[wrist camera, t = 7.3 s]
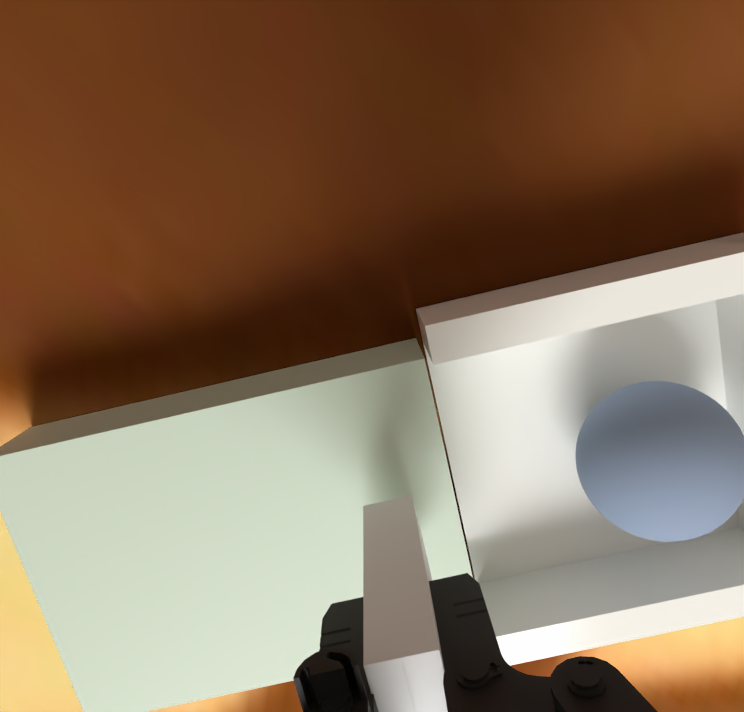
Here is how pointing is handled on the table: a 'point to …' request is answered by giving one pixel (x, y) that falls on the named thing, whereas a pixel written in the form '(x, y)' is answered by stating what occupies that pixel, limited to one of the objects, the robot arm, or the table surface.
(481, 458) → the tray
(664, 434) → the ball
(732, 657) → the table surface
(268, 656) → the board
